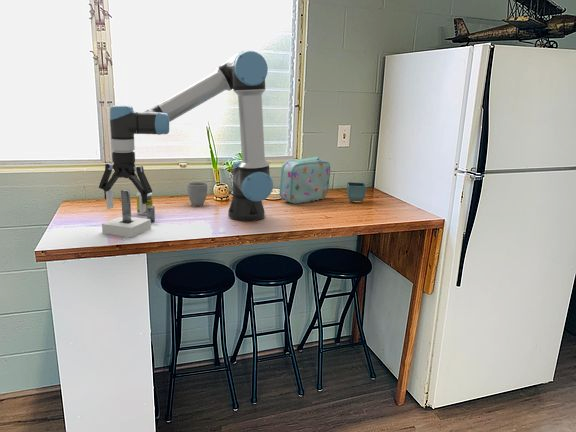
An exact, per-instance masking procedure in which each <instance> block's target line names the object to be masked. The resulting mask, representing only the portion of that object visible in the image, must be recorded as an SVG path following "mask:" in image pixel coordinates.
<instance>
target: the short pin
mask: <svg viewBox="0 0 576 432" xmlns="http://www.w3.org/2000/svg"><path fill="white" fill-rule="evenodd" d="M146 208H147V215H146V219H151V224H152V223H155V222H156V214H155V213H156V212H155V211H156V209H155V206H154V205H153V206H147V207H146Z"/></svg>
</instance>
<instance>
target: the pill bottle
mask: <svg viewBox="0 0 576 432" xmlns="http://www.w3.org/2000/svg"><path fill="white" fill-rule="evenodd" d="M139 195H141V193H140V192H139V191H138V192H137V193H136V213H137V214H138V215H141V216H144V215H145V216H147V208H146V212H144V213H140V207H139ZM147 206H154V205H153V193H152V192H151V193H149V194H147V203H146V207H147Z"/></svg>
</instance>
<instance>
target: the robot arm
mask: <svg viewBox="0 0 576 432" xmlns="http://www.w3.org/2000/svg"><path fill="white" fill-rule="evenodd" d="M268 71H269V68H268V63H267V61H266V59H265V57H263V55H262V54H261V53H259V52H257V51H254V50H243V51H241V52H238V53H235V54H234V55H233V56H231V57H230V58H229V59H228V60H226V61H225V62H224V63H222V64H220V65H219V66H217V67H216V69H215V71H214V72H212V73H210V74H208V75H207V76H206V77H204V78H202V79H200V80H198V81H196V82H195V83H193V84H192V85H190V86H188V87H187V88H185V89H183V90H180V91H179V92H178V93H176V94H174V95H173V96H171V97H168V98H167V99H166V100H164V101H162V102H160V103H158V104H157V105H155V106H153V107H152V108H149V109H147V110H145V111H143V112H142V111H140V112H139V111H134V108H133V106H132V105H121V104H120V105H118V104H117V105H112V106H111V107H110V108H109V124H110V125H109V126H110V135H111V137H110V139H111V150H112V152H111V155H112V157H111V161H112V162H110V163H105V164H104V172H103V175H102V177H101V180H100V181H99V185H98V189H101V190H103V193H104V200H106V210H110V209H114V196H113V195H114V194H113V193H114V192H113V189H112V187H113V186H114V184H115V183H116V182H117V181H118V179H121V178H124V179H129V181H131V183H132V184H133V185H134V187H135V188H136V189H137V191H138V192H140V193H141V195H139V207H140V213H144V212H146V203H147V194H149V193H152V192H153V189H152V187H151V185H150V182H149V180H148V179H147V177H146V174H145V172H144V171H145V169H144V166H142V165H139V166H136V165H135V164H136V163H135V162H136V152H135V135H158V136H160V135H168V134H169V132H170V123H171V122H172V121H174V120H176V119H177V118H180V117H181V116H183V115H185V114H186V113H188V112H190V111H192V110H193V109H195V108H197V107H199V106H200V105H202V104H204V103H205V102H208V100H211V99H212V98H215V97H216V96H218V95H219V94H221V93H223V92H224V91H229V92H230V91H233V92H234V93H235V94H236V95H237V100H238V101H237V102H238V115H239V116H238V117H239V130H240V131H239V133H240V148H241V161H236V162H234V163H233V164H232V199H231V203H230V205H229V208H228V212H227V213H228V215H227V216H228V217H229V219H232V220H236V221H244V222H245V221H246V222H249V221H250V222H251V221H252V222H253V221H258V220H259V221H260V220H262V219H264V218H265V215H266V214H265V213H266V212H265V208H264V205H263V202H262V201H264V200H266V199H267V198H268V197H269V196H270V195H271V194H272V192H273V189H274V183H273V182H274V181H273V179H272V177H271V176H270V173H271V172H270V163H269V162H268V161H266V158H265V157H266V156H265V136H264V135H265V134H264V116H263V98H262V95H263V93H265V91H266V78H267V76H268ZM112 171H114V172H112ZM112 173H113V174H112ZM110 176H111V177H110Z"/></svg>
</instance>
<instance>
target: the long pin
mask: <svg viewBox="0 0 576 432" xmlns="http://www.w3.org/2000/svg"><path fill="white" fill-rule="evenodd" d="M120 197H121V198H120V199H121V200H120V201H121V216H122V220H123V223H127V224H129V223H131V217H132V208H131V190H130V189H121V190H120Z"/></svg>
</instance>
